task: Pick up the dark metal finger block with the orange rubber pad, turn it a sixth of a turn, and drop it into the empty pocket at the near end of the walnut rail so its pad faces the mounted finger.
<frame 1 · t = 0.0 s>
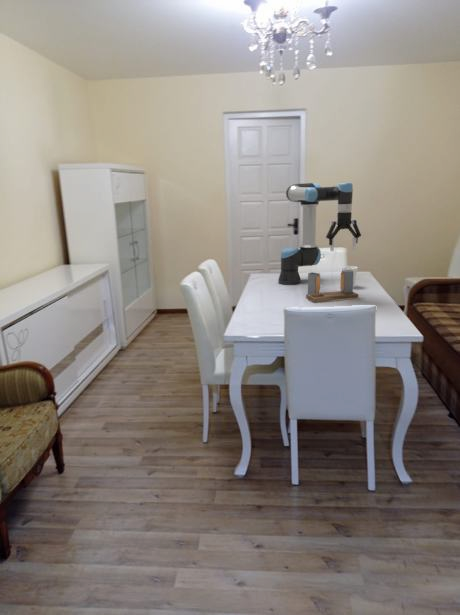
hand: (343, 250, 244), 28 cm above the table, tool pointing down, fingers open, 13 cm apart
mounted finger: (346, 292, 253), resting on rail
rail: (331, 298, 252), on the table
foam cup: (348, 287, 276), on the table
finger: (313, 294, 262), on the table
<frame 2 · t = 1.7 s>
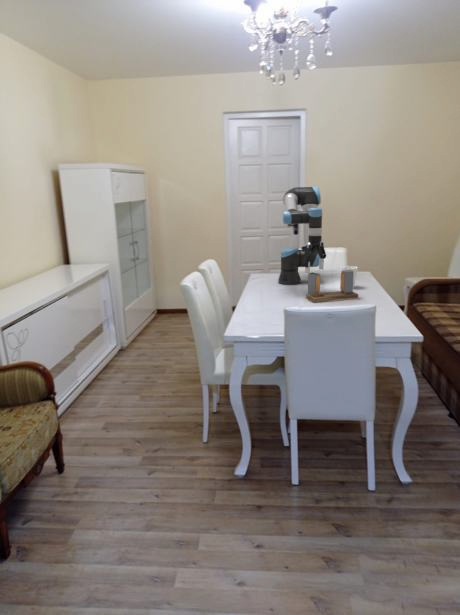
hand: (314, 271, 257), 15 cm above the table, tool pointing down, fingers open, 13 cm apart
nothing on the table moved.
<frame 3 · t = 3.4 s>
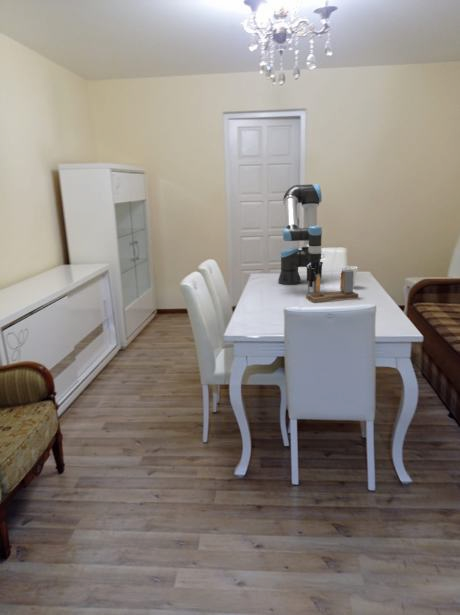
hand: (314, 291, 261), 2 cm above the table, tool pointing down, fingers closed on finger, 4 cm apart
finger: (313, 294, 262), on the table, touching gripper
everything else where it was.
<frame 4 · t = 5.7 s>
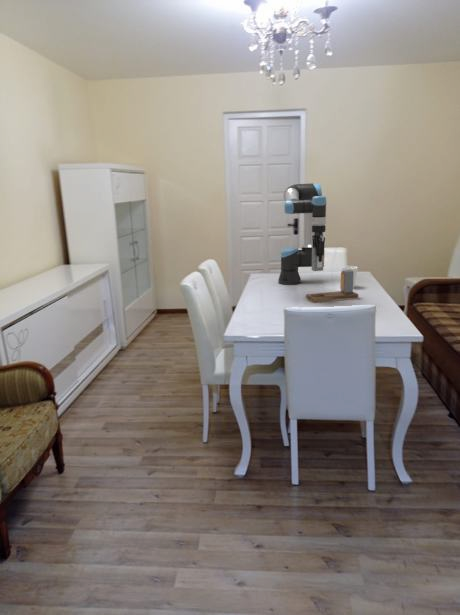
hand: (317, 266, 246), 19 cm above the table, tool pointing down, fingers closed on finger, 4 cm apart
finger: (317, 270, 246), point 17 cm above the table, touching gripper
everything else where it was.
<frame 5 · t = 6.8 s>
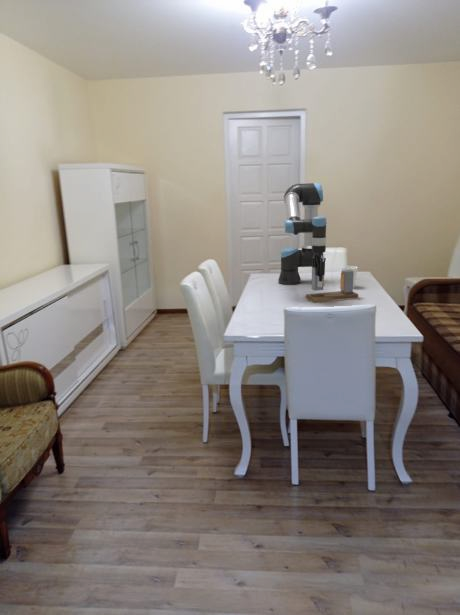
hand: (317, 285, 247), 8 cm above the table, tool pointing down, fingers closed on finger, 4 cm apart
finger: (317, 289, 248), point 6 cm above the table, touching gripper
everything else where it was.
when the fingers open (4 cm above the table, at t = 7.9 s): finger drops 1 cm, resting on rail.
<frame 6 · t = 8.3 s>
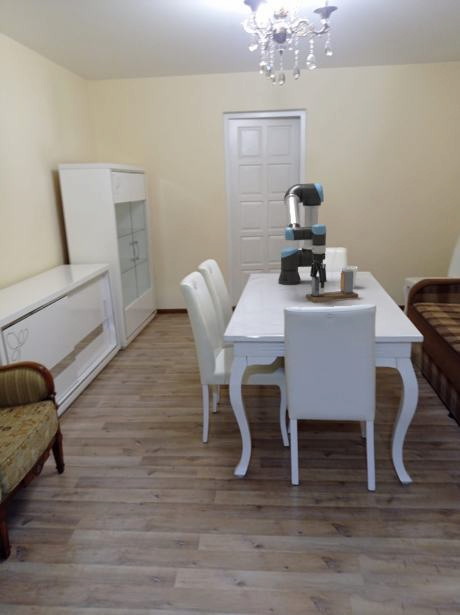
hand: (317, 291, 249), 5 cm above the table, tool pointing down, fingers open, 9 cm apart
finger: (317, 299, 250), point 1 cm above the table, touching rail
everything else where it was.
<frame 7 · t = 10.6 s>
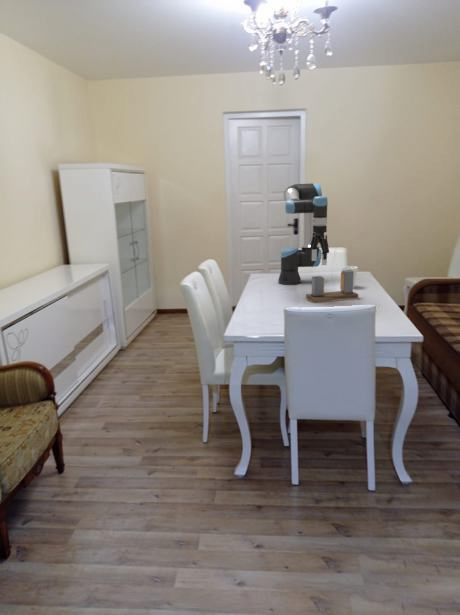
hand: (318, 262, 246), 21 cm above the table, tool pointing down, fingers open, 13 cm apart
nothing on the table moved.
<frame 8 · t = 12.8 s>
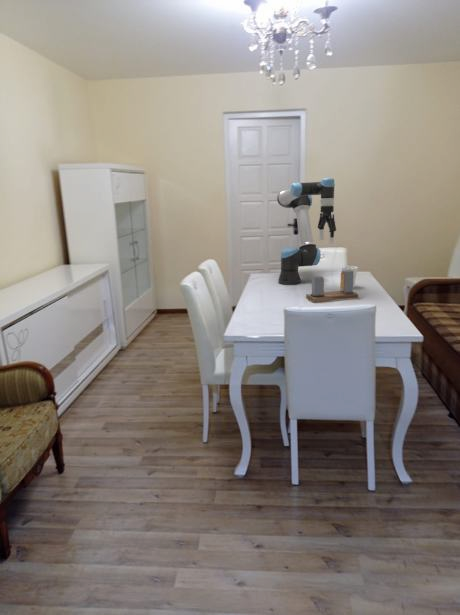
hand: (326, 241, 261), 31 cm above the table, tool pointing down, fingers open, 13 cm apart
nothing on the table moved.
at the end: finger 0.1 cm from the target spot on the rail, point 0.5 cm above the rail's base; finger tilted 0°; the gripper is holding nothing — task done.
